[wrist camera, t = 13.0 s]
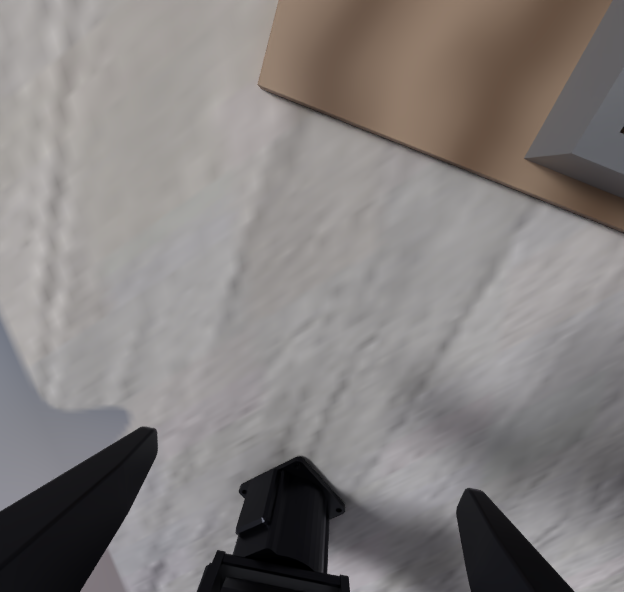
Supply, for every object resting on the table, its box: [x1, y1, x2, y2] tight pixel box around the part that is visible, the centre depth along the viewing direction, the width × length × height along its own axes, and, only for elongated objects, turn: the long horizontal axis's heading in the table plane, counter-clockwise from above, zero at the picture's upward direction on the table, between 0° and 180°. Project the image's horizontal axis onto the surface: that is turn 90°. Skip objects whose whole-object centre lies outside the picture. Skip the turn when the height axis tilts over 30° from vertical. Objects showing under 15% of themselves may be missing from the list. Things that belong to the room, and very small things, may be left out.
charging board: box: [258, 0, 624, 233], centre depth 14 cm, size 24×12×1 cm, turn 70°
